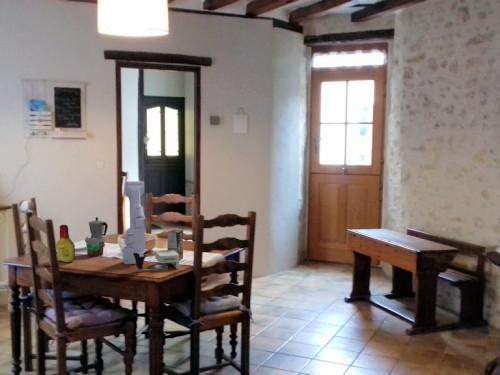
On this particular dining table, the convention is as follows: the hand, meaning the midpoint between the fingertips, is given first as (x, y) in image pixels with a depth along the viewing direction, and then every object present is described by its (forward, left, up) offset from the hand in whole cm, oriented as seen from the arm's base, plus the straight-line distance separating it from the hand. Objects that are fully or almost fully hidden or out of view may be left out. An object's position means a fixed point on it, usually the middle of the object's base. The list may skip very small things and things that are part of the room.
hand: (139, 267), depth 286 cm
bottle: (-35, +34, -2) cm, 48 cm away
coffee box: (+23, +21, -2) cm, 31 cm away
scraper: (+7, +4, -2) cm, 8 cm away
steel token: (+11, +6, -2) cm, 13 cm away
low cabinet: (+15, +8, -2) cm, 18 cm away
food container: (-20, +45, -2) cm, 49 cm away
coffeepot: (-15, +69, -2) cm, 71 cm away
